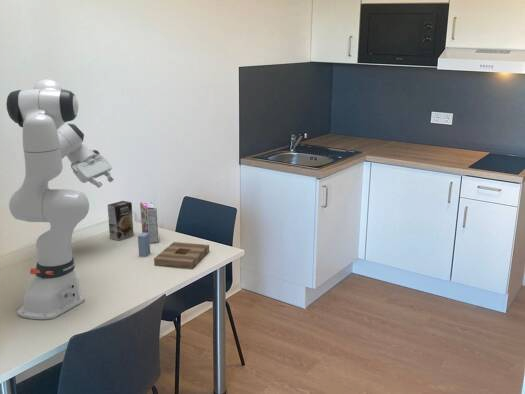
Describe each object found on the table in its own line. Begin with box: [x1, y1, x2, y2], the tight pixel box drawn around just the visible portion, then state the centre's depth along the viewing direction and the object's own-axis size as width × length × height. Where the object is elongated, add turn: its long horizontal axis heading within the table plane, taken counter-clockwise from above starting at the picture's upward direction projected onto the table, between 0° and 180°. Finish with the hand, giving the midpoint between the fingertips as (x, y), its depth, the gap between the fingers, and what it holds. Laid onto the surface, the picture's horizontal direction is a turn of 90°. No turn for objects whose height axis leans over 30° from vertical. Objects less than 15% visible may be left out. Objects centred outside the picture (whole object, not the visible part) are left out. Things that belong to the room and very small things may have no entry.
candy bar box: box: [139, 201, 159, 245], centre depth 251 cm, size 11×5×16 cm, turn 25°
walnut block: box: [153, 241, 210, 270], centre depth 230 cm, size 20×16×3 cm
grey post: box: [137, 232, 151, 258], centre depth 233 cm, size 4×3×9 cm, turn 166°
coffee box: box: [107, 200, 134, 242], centre depth 254 cm, size 9×6×16 cm
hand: (106, 183), depth 230 cm, fingers open, 8 cm apart
